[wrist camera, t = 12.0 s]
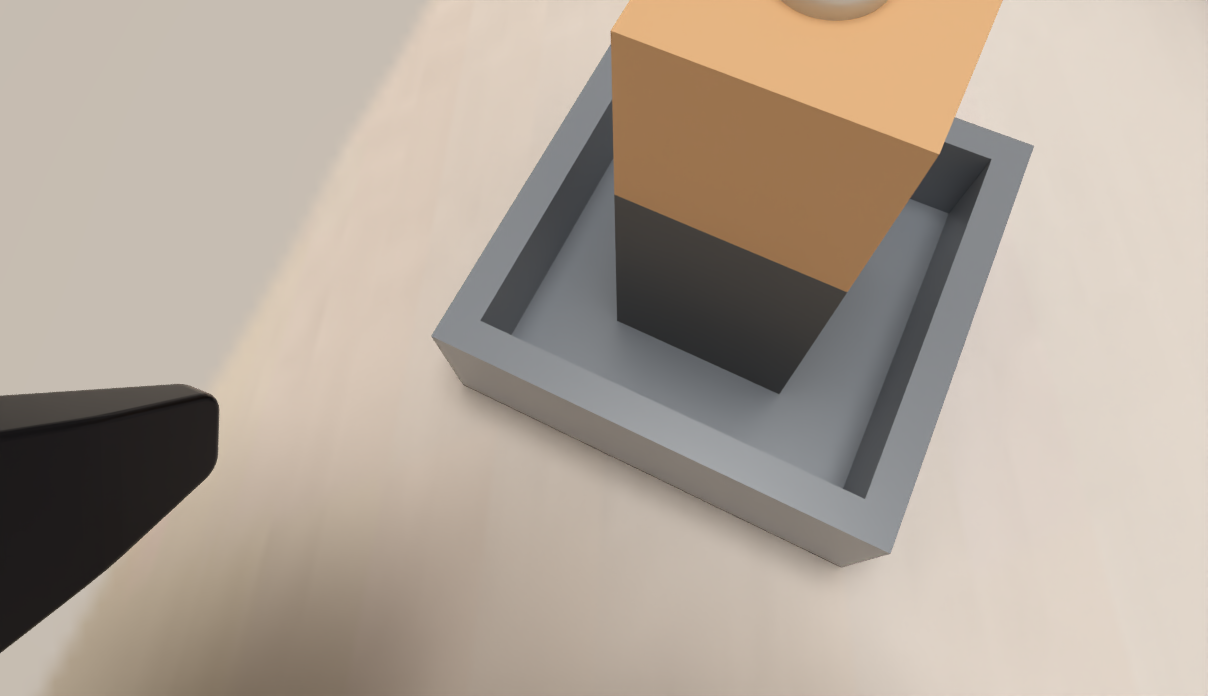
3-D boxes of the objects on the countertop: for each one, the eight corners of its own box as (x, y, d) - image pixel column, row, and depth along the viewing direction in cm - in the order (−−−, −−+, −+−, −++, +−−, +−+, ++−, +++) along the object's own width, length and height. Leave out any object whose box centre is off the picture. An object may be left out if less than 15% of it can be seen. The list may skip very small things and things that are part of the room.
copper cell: (779, 394, 18) (955, 129, 9) (617, 320, 19) (610, 1, 9) (843, 249, 20) (1058, -123, 10) (688, 186, 21) (748, -215, 11)
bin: (841, 567, 18) (890, 553, 15) (462, 384, 20) (431, 336, 17) (970, 220, 21) (1034, 145, 18) (634, 91, 23) (636, 2, 20)
